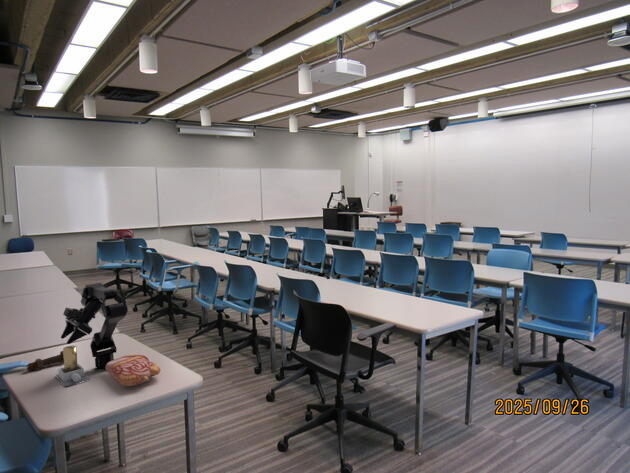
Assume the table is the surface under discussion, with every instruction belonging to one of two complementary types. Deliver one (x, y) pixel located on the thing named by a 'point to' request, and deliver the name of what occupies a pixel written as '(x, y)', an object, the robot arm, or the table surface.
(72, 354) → the gold metallic cylinder
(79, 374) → the manifold
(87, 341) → the table surface
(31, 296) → the table surface
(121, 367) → the anatomical model
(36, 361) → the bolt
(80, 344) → the table surface
